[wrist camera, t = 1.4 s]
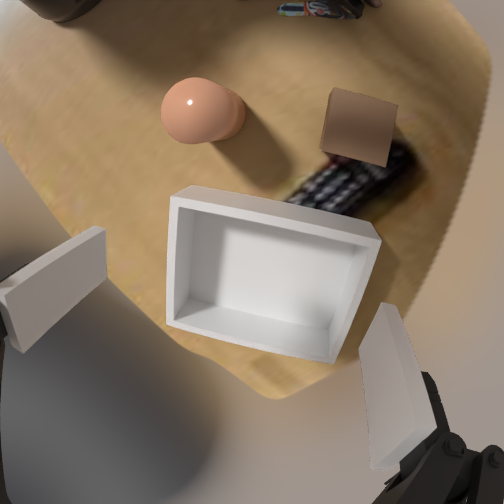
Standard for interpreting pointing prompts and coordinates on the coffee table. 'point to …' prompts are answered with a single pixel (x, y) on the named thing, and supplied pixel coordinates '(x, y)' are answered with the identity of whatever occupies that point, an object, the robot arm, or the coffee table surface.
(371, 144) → the walnut cube
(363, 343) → the robot arm
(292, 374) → the coffee table surface
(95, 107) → the coffee table surface
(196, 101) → the round-ended peach cylinder
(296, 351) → the tote
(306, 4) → the dark brown branched piece
